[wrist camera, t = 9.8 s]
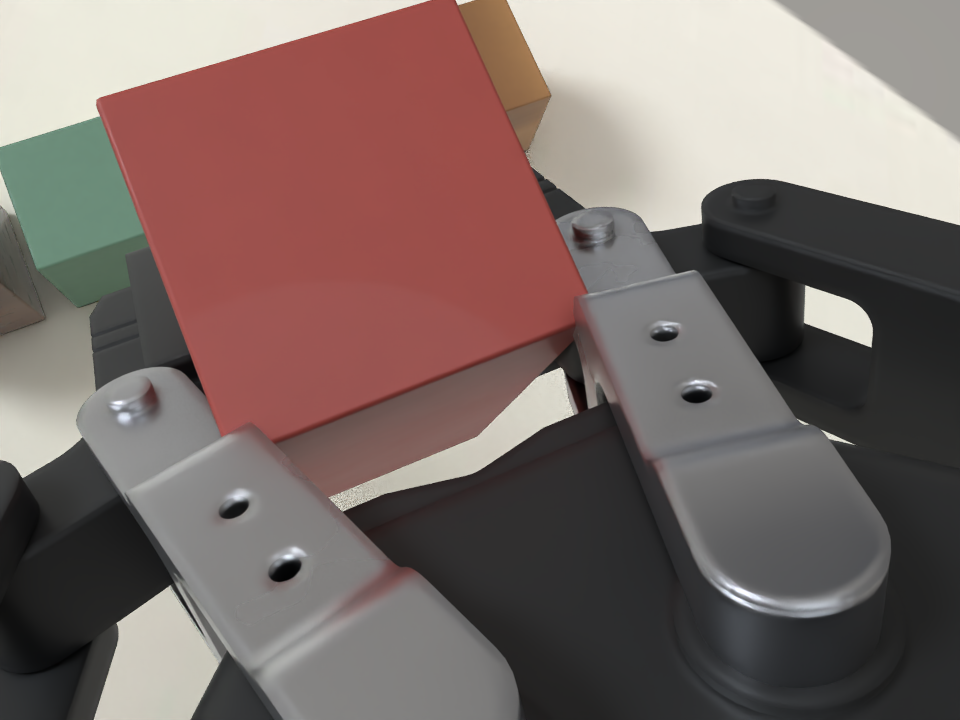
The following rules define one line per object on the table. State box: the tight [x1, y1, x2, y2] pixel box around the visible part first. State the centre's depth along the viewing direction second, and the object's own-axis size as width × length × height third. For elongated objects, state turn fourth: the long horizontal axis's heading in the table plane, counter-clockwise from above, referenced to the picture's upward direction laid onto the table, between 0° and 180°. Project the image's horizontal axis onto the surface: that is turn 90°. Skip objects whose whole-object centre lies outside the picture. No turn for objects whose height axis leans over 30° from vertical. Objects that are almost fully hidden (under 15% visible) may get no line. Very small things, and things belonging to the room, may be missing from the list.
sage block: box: [0, 117, 149, 307], centre depth 29 cm, size 4×4×4 cm
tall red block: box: [96, 0, 588, 497], centre depth 14 cm, size 4×4×9 cm
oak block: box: [458, 0, 551, 151], centre depth 31 cm, size 4×4×4 cm
